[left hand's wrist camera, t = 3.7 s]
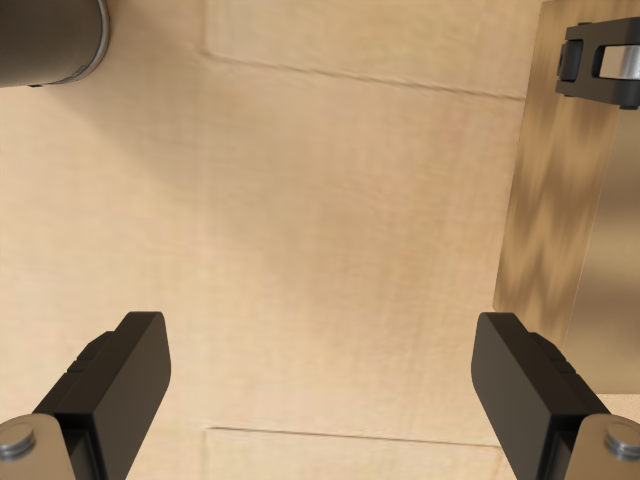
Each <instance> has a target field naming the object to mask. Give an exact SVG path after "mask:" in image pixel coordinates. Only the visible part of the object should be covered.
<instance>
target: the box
mask: <svg viewBox="0 0 640 480" xmlns="http://www.w3.org/2000/svg"><path fill="white" fill-rule="evenodd" d="M630 17H640V0H551V1H547V2H543V3H542V4H541V10H540V16H539V23H538V29H537V35H536V41H535V47H534V53H533V59H532V65H531V72H530V78H529V84H528V90H527V96H526V102H525V108H524V114H523V121H522V127H521V133H520V139H519V145H518V151H517V157H516V164H515V170H514V176H513V182H512V188H511V194H510V200H509V206H508V213H507V219H506V225H505V231H504V237H503V243H502V249H501V255H500V262H499V268H498V274H497V280H496V286H495V292H494V298H493V304H492V307H493V308H494V310H495V311H496V312H512V313H514V314H515V315H516V316H517V317H518V319H519V320H520V321H521V323H522V324H523V325H524V327H525V328H526V329H527V331H528V332H536V333H538V334H539V335H541V336H542V337H544V338H545V339H547V340H548V341H550V342H552V343H553V344H554V345H555V346H556V347H557V348H558V349H559V351H560V352H561V353H562V354H563V355H564V357H565V358H566V361H567V362H569V363H570V364H571V365H572V366H573V368H574V369H575V370H576V374H579V375H580V376H581V377H582V379H583V380H584V381H585V382H586V383H587V385H588V386H589V387H590V388H591V390H592V391H593V392H594V393H595V394H640V106H638V110H622V109H619V106H620V105H612V104H607V103H602V102H597V101H593V100H588V99H583V98H579V97H564V94H560V93H555V88H556V83H557V80H559V76H557V75H556V73H557V68H558V62H559V57H560V51H561V46H562V44H565V42H566V41H568V40H565V34H566V29H567V27H572V26H578V25H577V24H578V23H583V22H592V23H598V22H604V21H610V20H617V19H623V18H630Z"/></svg>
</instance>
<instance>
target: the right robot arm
mask: <svg viewBox="0 0 640 480" xmlns="http://www.w3.org/2000/svg"><path fill="white" fill-rule="evenodd" d="M577 25H578V26H572V27H567V29H566V34H565V40H568V41H566V42H565V44H562V46H561V51H560V57H559V62H558V68H557V73H556V75H557V76H559V80H557V83H556V88H555V93H560V94H564V97H579V98H583V99H588V100H593V101H597V102H602V103H607V104H612V105H620V106H619V109H622V110H638V106H640V17H630V18H623V19H617V20H610V21H604V22H598V23H592V22H583V23H578V24H577Z"/></svg>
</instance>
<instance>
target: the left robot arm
mask: <svg viewBox="0 0 640 480" xmlns="http://www.w3.org/2000/svg"><path fill="white" fill-rule="evenodd" d="M109 34H110V21H109V14H108V9H107V5H106V2H105V0H0V88H3V87H14V86H26V85H27V86H30V87H41V86H42V85H38V84H63V83H70V82H74V81H77V80H79V79H81V78H83V77H85V76H87V75H88V74H89V73H91V72H92V71H93V70H94V69H95V68H96V67H97V66H98V64H99V63H100V61H101V60H102V58H103V56H104V54H105V52H106V49H107V46H108V41H109ZM471 375H472V382H473V386H474V388H475V391H476V393H477V395H478V397H479V399H480V402H481V404H482V406H483V408H484V410H485V412H486V414H487V416H488V419H489V421H490V423H491V425H492V427H493V429H494V431H495V433H496V436H497V438H498V440H499V442H500V444H501V446H502V448H503V451H504V453H505V455H506V457H507V459H508V461H509V463H510V465H511V468H512V470H513V472H514V474H515V476H516V478H517V480H640V424H638V423H636V422H634V421H632V420H630V419H627V418H624V417H621V416H617V415H613V414H611V413H610V411H609V410H608V409H607V408H606V407H605V405H604V404H603V403H602V402H601V400H600V399H599V398H598V397H597V396H596V394H595V393H594V392H593V391H592V390H591V388H590V387H589V386H588V385H587V383H586V382H585V381H584V380H583V379H582V377H581V376H580V375H579V374H576V370H575V369H574V368H573V366H572V365H571V364H570V363H569V362H567V361H566V358H565V357H564V355H563V354H562V353H561V352H560V351H559V349H558V348H557V347H556V346H555V345H554V344H553V343H552V342H550V341H548V340H547V339H545V338H544V337H542V336H541V335H539V334H538V333H536V332H528V331H527V329H526V328H525V327H524V325H523V324H522V323H521V321H520V320H519V319H518V317H517V316H516V315H515V314H514V313H512V312H482V313H481V314H480V315H479V318H478V322H477V329H476V336H475V342H474V349H473V356H472V363H471ZM170 376H171V360H170V353H169V346H168V340H167V333H166V326H165V320H164V316H163V314H162V313H161V312H129V313H128V314H127V315H126V316H125V318H124V319H123V320H122V321H121V323H120V324H119V325H118V327H117V328H116V329H115V331H106V332H105V333H103V334H102V335H100V336H99V337H97V338H96V339H94V340H93V341H91V342H90V343H88V345H87V346H86V347H85V348H84V350H83V351H82V352H81V353H80V354H79V356H78V357H77V360H76V361H74V362H73V363H72V364H71V365H70V367H69V368H68V369H67V373H64V374H63V375H62V377H61V378H60V379H59V380H58V381H57V383H56V384H55V385H54V386H53V388H52V389H51V390H50V391H49V393H48V394H47V395H46V396H45V397H44V399H43V400H42V401H41V402H40V404H39V405H38V406H37V407H36V408H35V410H34V411H33V412H32V413H31V414H27V415H23V416H19V417H16V418H13V419H10V420H8V421H6V422H4V423H2V424H0V480H125V479H126V477H127V475H128V473H129V470H130V468H131V466H132V464H133V462H134V460H135V458H136V455H137V453H138V451H139V449H140V447H141V445H142V442H143V440H144V438H145V436H146V434H147V432H148V429H149V427H150V425H151V423H152V421H153V419H154V416H155V414H156V412H157V410H158V408H159V406H160V404H161V401H162V399H163V397H164V395H165V393H166V391H167V388H168V386H169V382H170Z"/></svg>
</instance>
